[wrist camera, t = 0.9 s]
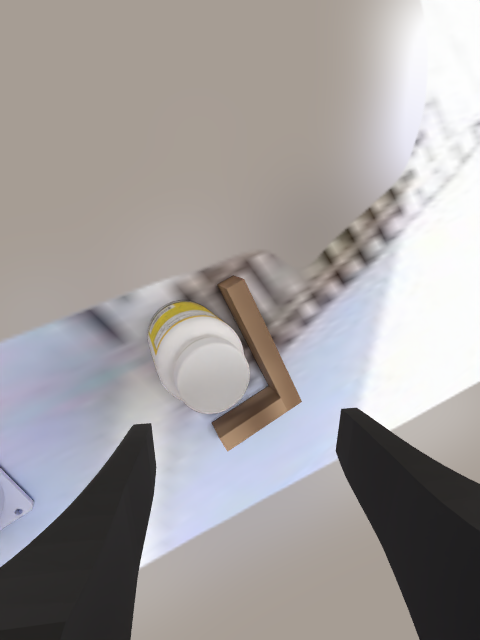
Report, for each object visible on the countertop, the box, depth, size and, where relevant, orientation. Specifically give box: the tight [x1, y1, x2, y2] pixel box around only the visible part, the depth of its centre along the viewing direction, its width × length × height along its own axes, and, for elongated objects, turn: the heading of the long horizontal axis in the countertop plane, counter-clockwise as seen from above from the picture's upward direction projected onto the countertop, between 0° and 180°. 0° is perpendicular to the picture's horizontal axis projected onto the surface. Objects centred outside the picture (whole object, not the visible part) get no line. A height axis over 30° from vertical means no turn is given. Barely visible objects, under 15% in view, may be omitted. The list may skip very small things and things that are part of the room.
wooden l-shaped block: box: [212, 276, 302, 451], centre depth 27 cm, size 8×12×2 cm, turn 27°
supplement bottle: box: [148, 301, 250, 414], centre depth 22 cm, size 5×5×10 cm
